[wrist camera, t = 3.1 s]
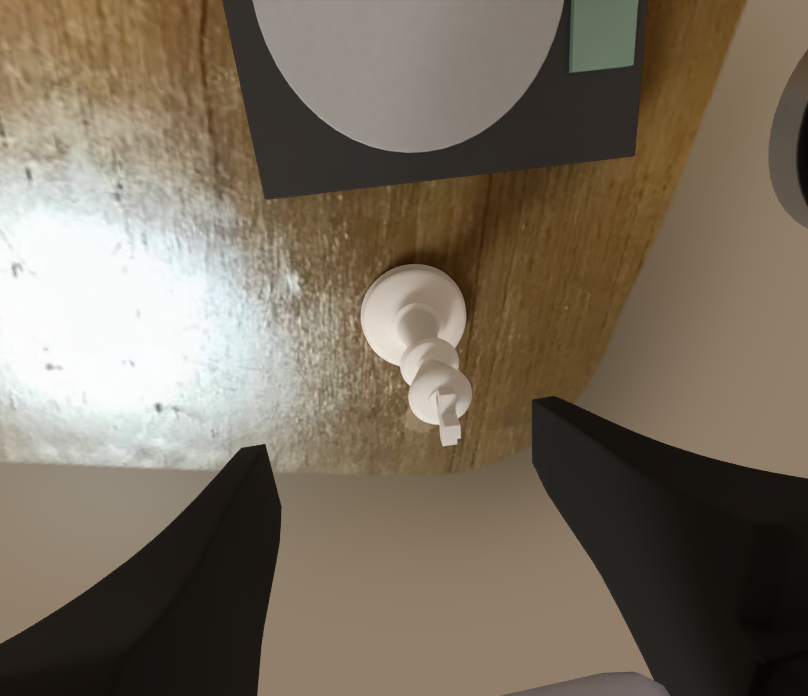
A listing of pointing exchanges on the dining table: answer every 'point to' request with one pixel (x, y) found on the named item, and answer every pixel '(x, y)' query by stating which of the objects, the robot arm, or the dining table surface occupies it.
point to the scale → (433, 87)
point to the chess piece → (421, 340)
